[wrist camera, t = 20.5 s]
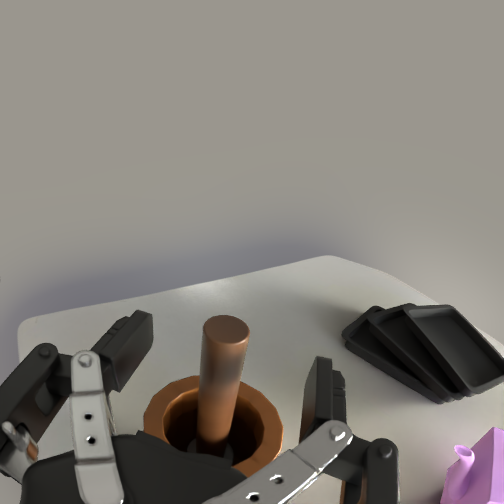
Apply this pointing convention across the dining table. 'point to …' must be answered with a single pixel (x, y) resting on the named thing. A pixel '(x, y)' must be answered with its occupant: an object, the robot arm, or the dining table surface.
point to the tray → (427, 350)
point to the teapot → (477, 472)
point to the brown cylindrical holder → (241, 431)
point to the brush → (219, 383)
